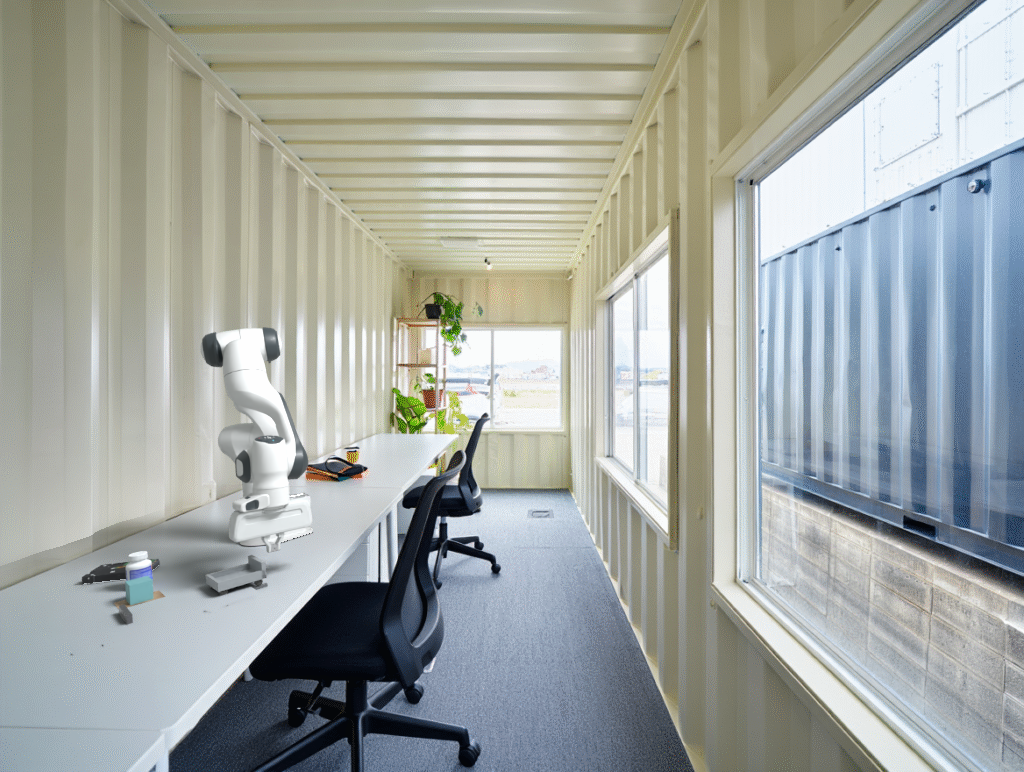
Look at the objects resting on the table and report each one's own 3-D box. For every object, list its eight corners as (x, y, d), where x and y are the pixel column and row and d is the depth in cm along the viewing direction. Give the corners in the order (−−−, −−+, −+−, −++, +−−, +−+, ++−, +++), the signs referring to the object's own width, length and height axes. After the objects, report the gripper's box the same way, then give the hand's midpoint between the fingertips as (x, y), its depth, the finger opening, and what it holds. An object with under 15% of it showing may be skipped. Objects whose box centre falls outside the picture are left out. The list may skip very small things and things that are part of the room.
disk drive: (81, 587, 138) (145, 579, 142) (80, 577, 138) (144, 568, 142) (101, 574, 148) (160, 566, 152) (100, 564, 148) (159, 557, 152)
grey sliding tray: (252, 576, 136) (251, 554, 136) (266, 584, 130) (265, 561, 130) (206, 590, 128) (205, 567, 128) (218, 599, 122) (217, 575, 122)
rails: (255, 579, 136) (255, 567, 136) (268, 586, 131) (267, 574, 131) (119, 619, 115) (118, 605, 115) (127, 630, 110) (126, 615, 110)
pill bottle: (158, 588, 133) (156, 550, 133) (137, 597, 128) (135, 557, 128) (143, 586, 135) (141, 549, 135) (121, 595, 130) (119, 556, 129)
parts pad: (159, 595, 128) (159, 590, 128) (165, 601, 124) (165, 596, 124) (113, 607, 122) (113, 602, 122) (119, 614, 118) (119, 609, 118)
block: (148, 594, 126) (147, 575, 126) (153, 598, 123) (152, 579, 123) (126, 600, 123) (125, 581, 123) (130, 605, 120) (129, 585, 120)
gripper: (305, 490, 145) (307, 540, 145) (225, 503, 131) (227, 558, 130) (315, 492, 141) (317, 543, 141) (234, 506, 126) (236, 563, 126)
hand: (273, 551), depth 136 cm, fingers closed
